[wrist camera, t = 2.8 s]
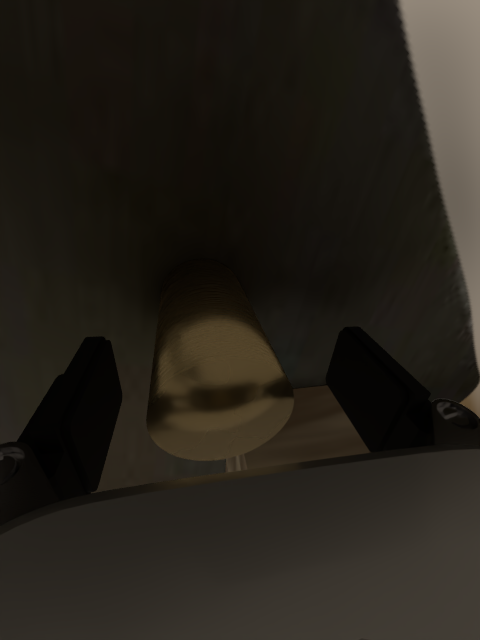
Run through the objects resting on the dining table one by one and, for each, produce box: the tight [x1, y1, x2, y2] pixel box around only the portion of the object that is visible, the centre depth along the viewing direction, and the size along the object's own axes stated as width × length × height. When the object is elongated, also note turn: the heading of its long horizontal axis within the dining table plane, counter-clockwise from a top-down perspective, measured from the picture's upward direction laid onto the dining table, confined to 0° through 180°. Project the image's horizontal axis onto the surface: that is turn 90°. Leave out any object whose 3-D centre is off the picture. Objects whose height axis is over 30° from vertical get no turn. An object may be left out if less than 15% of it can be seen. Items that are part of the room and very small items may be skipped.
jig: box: [225, 385, 372, 473], centre depth 20 cm, size 10×10×6 cm
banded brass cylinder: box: [146, 259, 294, 461], centre depth 11 cm, size 4×4×8 cm
